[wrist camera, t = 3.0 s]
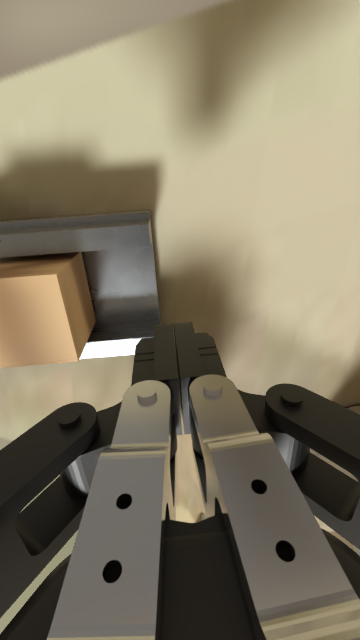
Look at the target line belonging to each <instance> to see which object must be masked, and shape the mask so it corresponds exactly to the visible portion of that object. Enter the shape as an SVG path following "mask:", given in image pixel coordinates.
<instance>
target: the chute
mask: <svg viewBox="0 0 360 640" xmlns="http://www.w3.org/2000/svg"><path fill="white" fill-rule="evenodd" d="M71 252H82V257H83V262H84V267H85V272H86V276H87V281H88V286H89V291H90V296H91V301H92V305H93V310H94V315H95V320H96V323H95V325H94V327H93V329H92V332H91V334H90V336H89V338H88V341H87V343H86V345H85V347H84V350H83V352H82V354H81V356H80V359H86V358H98V357H110V356H122V355H134V354H135V349H136V345H137V344H138V342H139V341H140V340H141V339H142V338H150V337H154V325H160V324H161V319H160V309H159V299H158V289H157V279H156V269H155V258H154V248H153V238H152V228H151V218H150V210H146V211H132V212H118V213H104V214H89V215H75V216H61V217H47V218H33V219H18V220H4V221H0V258H3V257H17V256H30V255H44V254H57V253H71Z"/></svg>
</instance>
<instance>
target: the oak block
mask: <svg viewBox="0 0 360 640" xmlns="http://www.w3.org/2000/svg"><path fill="white" fill-rule="evenodd" d="M95 323H96V320H95V315H94V310H93V305H92V301H91V296H90V291H89V286H88V281H87V276H86V272H85V267H84V262H83V257H82V252H71V253H57V254H44V255H30V256H17V257H3V258H0V368H6V367H18V366H29V365H41V364H53V363H65V362H77V361H79V359H80V356H81V354H82V352H83V350H84V347H85V345H86V343H87V341H88V338H89V336H90V334H91V332H92V329H93V327H94V325H95Z"/></svg>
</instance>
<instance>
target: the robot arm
mask: <svg viewBox="0 0 360 640" xmlns="http://www.w3.org/2000/svg"><path fill="white" fill-rule="evenodd" d="M174 334H175V344H174V335H173V326H172V324H160V325H154V337H150V338H142V339H141V340H140V341H139V342H138V344H137V345H136V349H135V357H134V366H133V375H132V384H131V387H130V388H128V389H127V391H126V392H125V394H124V396H123V400H122V402H120V403H119V404H117V405H115V406H113V407H110V408H107V409H104V410H101V411H98V412H96V410H95V408H94V407H93V406H91V405H90V404H87V403H82V402H78V403H71V404H67V405H65V406H62V407H60V408H58V409H57V410H55V411H54V412H52V413H51V414H50V415H48V416H47V417H46V418H44V419H43V420H41V421H40V422H39V423H37V424H36V425H35V426H33V427H32V428H30V429H29V430H28V431H26V432H25V433H24V434H22V435H21V436H19V437H18V438H17V439H15V440H14V441H13V442H11V443H10V444H8V445H7V446H6V447H4V448H3V449H2V450H0V618H1V616H3V614H4V613H5V612H6V611H7V610H8V609H9V608H10V606H11V605H12V604H13V603H14V602H15V601H16V599H17V598H18V597H19V596H20V595H21V594H22V593H23V592H24V590H25V589H26V588H27V587H28V586H29V585H30V584H31V583H32V581H33V580H34V579H35V578H36V577H37V576H38V575H39V573H40V572H41V571H42V570H43V569H44V568H45V566H46V565H47V564H48V563H49V562H50V561H51V560H52V558H53V557H54V556H55V555H56V554H57V553H58V552H59V551H60V549H61V548H62V547H63V546H64V545H65V544H66V543H67V541H68V540H69V539H70V538H71V537H72V536H73V534H74V533H75V532H76V531H77V530H78V533H77V536H76V540H75V543H74V547H73V550H72V553H71V554H70V555H69V556H68V557H67V558H66V559H65V560H63V561H62V562H61V563H60V564H59V565H58V566H57V567H56V568H55V569H54V570H53V571H52V572H51V573H50V574H49V575H48V576H47V578H46V579H45V580H44V581H43V582H42V584H41V585H40V586H39V587H38V588H37V590H36V591H35V592H34V593H33V595H32V596H31V597H30V598H29V600H28V601H27V602H26V603H25V604H24V606H23V607H22V608H21V610H20V611H19V612H18V613H17V614H16V616H15V617H14V618H13V619H12V621H11V622H10V623H9V624H8V625H7V627H6V628H5V629H4V630H3V632H2V633H1V634H0V640H360V405H359V406H353V407H349V408H345V407H343V406H341V405H339V404H337V403H335V402H332V401H330V400H328V399H326V398H324V397H322V396H320V395H318V394H316V393H314V392H311V391H309V390H307V389H305V388H303V387H301V386H298V385H293V384H278V385H275V386H272V387H271V388H269V389H268V391H267V392H266V396H263V395H256V394H250V393H245V392H242V391H240V390H238V389H237V388H236V386H235V384H234V383H233V382H232V381H231V380H230V379H228V378H227V376H226V374H225V371H224V368H223V365H222V362H221V359H220V356H219V355H218V351H217V348H216V345H215V342H214V339H213V338H212V337H211V336H209V335H208V334H207V333H196V334H195V333H194V329H193V325H192V322H183V323H174ZM175 348H176V353H175ZM176 361H177V362H176ZM178 380H179V382H178ZM179 390H180V395H179ZM180 399H181V408H182V417H183V426H184V435H185V434H191V438H192V449H193V458H194V463H195V468H196V472H197V477H198V481H199V486H200V490H201V495H202V499H203V504H204V508H205V513H206V519H204V520H202V521H200V522H197V523H187V522H181V521H176V451H177V435H182V422H181V408H180ZM59 474H60V476H59V477H58V478H57V479H56V480H55V481H54V482H53V483H52V484H51V485H50V486H49V487H48V488H47V489H45V490H44V491H43V492H42V493H41V494H40V495H39V496H38V497H37V498H36V499H35V500H34V501H32V503H30V504H29V505H28V506H27V507H26V508H25V509H24V510H23V511H22V512H21V510H22V509H23V508H24V507H25V506H26V505H27V504H28V503H29V502H30V501H31V500H32V499H33V498H34V497H35V496H36V495H38V494H39V493H40V492H41V491H42V490H43V489H44V488H45V487H46V486H47V485H48V484H49V483H51V482H52V481H53V480H54V479H55V478H56V477H57V476H58V475H59ZM20 512H21V513H20ZM19 513H20V514H19ZM314 515H315V516H316V517H317V518H319V519H320V520H321V521H322V522H324V523H325V524H326V525H328V526H329V527H330V528H332V529H333V530H334V531H336V532H337V533H338V534H340V535H341V536H342V537H344V538H345V539H346V540H348V541H349V542H350V543H351V544H353V546H354V548H355V550H356V551H357V553H358V554H357V553H356V552H354V551H353V550H352V549H351V548H349V547H348V546H347V545H346V544H344V543H343V542H342V541H340V540H339V539H338V538H336V537H335V536H333V535H332V534H330V533H329V532H327V531H325V530H323V529H321V528H320V526H319V524H318V522H317V520H316V519H315V517H314Z"/></svg>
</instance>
